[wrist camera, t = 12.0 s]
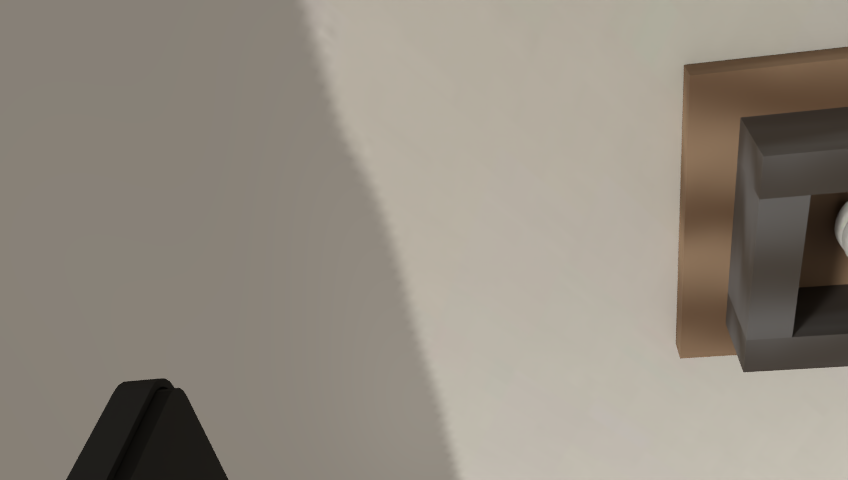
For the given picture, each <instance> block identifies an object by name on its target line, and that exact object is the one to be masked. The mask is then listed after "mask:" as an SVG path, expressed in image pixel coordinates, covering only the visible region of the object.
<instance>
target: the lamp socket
mask: <svg viewBox="0 0 848 480" xmlns="http://www.w3.org/2000/svg"><path fill="white" fill-rule="evenodd" d="M847 201H848V47H842V48H833V49H824V50H815V51H806V52H797V53H788V54H779V55H770V56H761V57H752V58H743V59H734V60H725V61H715V62H706V63H697V64H688V65H684V88H683V121H682V155H681V189H680V223H679V257H678V291H677V325H676V345H677V349H678V352H679V356H680V358H693V357H710V356H726V355H737V356H738V358H739V361H740V364H741V366H742V369H743V372H755V371H773V370H790V369H808V368H825V367H843V366H848V257H847V255H846V254H845V251H844V249H843V248H842V247H841V246H840V244H839V242H838V241H837V239H836V236H835V231H834V228H835V220H836V218H837V215H838V213H839V211H840V209H841V208H842V207H843V205H844V204H845V203H846V202H847Z"/></svg>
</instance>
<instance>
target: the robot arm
mask: <svg viewBox="0 0 848 480" xmlns="http://www.w3.org/2000/svg"><path fill="white" fill-rule="evenodd" d="M66 480H228V478H227V476H226V474H225V472H224V470H223V468H222V466H221V464H220V462H219V460H218V458H217V456H216V454H215V452H214V450H213V448H212V446H211V444H210V442H209V440H208V438H207V436H206V434H205V432H204V430H203V428H202V426H201V424H200V422H199V420H198V418H197V416H196V414H195V412H194V410H193V408H192V406H191V404H190V402H189V400H188V398H187V396H186V394H185V393H184V391H183V390H182V389H180V388H174V387H173V385H172V384H171V382H170V381H168V380H167V379H150V380H140V381H128V382H123V383H121V384H120V385H118V387H117V388H116V389H115V391H114V393H113V394H112V396H111V398H110V400H109V402H108V404H107V405H106V407H105V409H104V411H103V413H102V415H101V416H100V418H99V420H98V422H97V424H96V426H95V428H94V430H93V431H92V433H91V435H90V437H89V439H88V441H87V442H86V444H85V446H84V448H83V450H82V452H81V454H80V455H79V457H78V459H77V461H76V463H75V465H74V466H73V468H72V470H71V472H70V474H69V476H68V478H67V479H66Z"/></svg>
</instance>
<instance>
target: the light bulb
mask: <svg viewBox="0 0 848 480" xmlns="http://www.w3.org/2000/svg"><path fill="white" fill-rule="evenodd" d="M834 231H835V236H836V239H837V241H838V242H839V244H840V246H841V247H842V248H843V249H844V251H845V254H846V255H847V257H848V201H847V202H846V203H845V204H844V205H843V207H842V208H841V209H840V211H839V213H838V215H837V218H836V220H835V228H834Z"/></svg>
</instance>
